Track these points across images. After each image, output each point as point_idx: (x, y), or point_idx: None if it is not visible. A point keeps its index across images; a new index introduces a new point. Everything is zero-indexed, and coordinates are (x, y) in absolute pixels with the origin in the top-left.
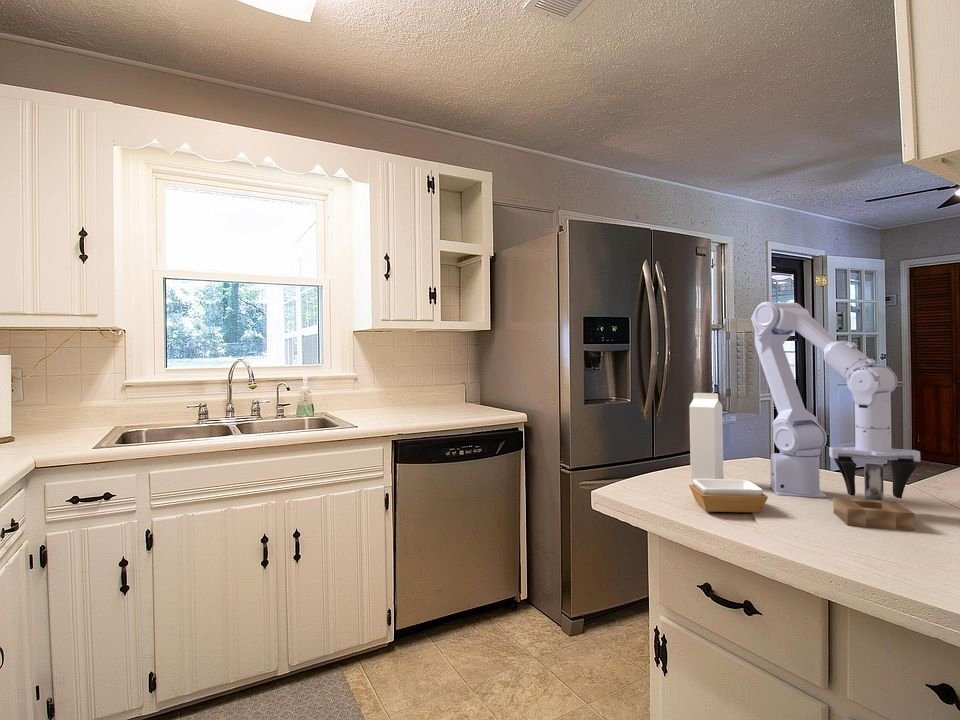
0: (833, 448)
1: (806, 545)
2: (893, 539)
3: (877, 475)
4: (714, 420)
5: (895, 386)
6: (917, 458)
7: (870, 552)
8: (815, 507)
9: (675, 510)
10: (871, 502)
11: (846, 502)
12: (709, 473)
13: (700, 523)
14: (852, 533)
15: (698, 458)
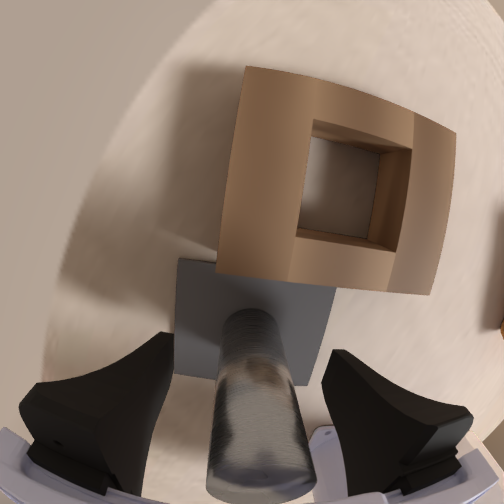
0: (475, 498)
1: (493, 45)
2: (353, 24)
3: (262, 409)
4: None
5: None
6: (4, 444)
7: None
8: (409, 330)
9: None
10: (333, 242)
11: (428, 224)
12: (472, 442)
13: None
14: (429, 76)
15: (489, 457)
